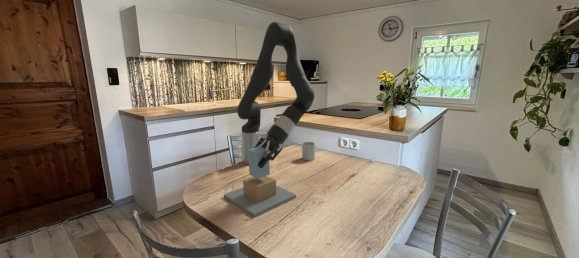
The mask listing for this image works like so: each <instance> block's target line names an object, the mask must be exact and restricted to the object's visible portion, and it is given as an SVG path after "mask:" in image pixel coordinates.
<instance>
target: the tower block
mask: <svg viewBox="0 0 579 258" xmlns="http://www.w3.org/2000/svg"><path fill="white" fill-rule="evenodd" d="M248 152H249V164H248V171H249V173H248V174H249V175H250V176H251V177H256V178H258V179H259V178H262V177H264V176H269V175H270V160H269V161H267V163H266V164H265V165H264V167H263V168H260V167H259V166H258V163H259V162H260V160H261V159H262V158H263V157H264V155H265V148H263V147H261V148H259V147H257V148H253V149H249V150H248Z"/></svg>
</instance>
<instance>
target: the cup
mask: <svg viewBox="0 0 579 258" xmlns="http://www.w3.org/2000/svg"><path fill="white" fill-rule="evenodd" d="M301 144H302V146H301V149H302V151H301V153H302V156H301V158H302V160H304V161H314V160H315V159H316V143H315V142H313V141H304V142H302V143H301Z"/></svg>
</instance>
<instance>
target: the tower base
mask: <svg viewBox="0 0 579 258" xmlns="http://www.w3.org/2000/svg"><path fill="white" fill-rule="evenodd" d="M242 186H243V187H240V188H237V189H235V190H231V191H228V192H226V193H224V194H223V197H224V199H227V200H228V201H229V202H231V203H233V204H234V205H236V206H237V207H239V208H240V209H241V210H243V211H244V212H246V213H247V214H249V215H251V216H252V217H253V218H256V217H258V216H260V215H262V214H265V213H267V212H268V211H271V210H274V209H275V208H277V207H280V206H281V205H284V204H285V203H287V202H290V201H292V200H295V199H296V198H297V194H296V193H293V192H291V191H289V190H288V189H286V188H283V187H281V186H279V185H277V180H276V179H275V178H272V177H271V176H269V175H267V176H264V177H262V178H259V179H258V178H256V177H253V176H251V177H247V178H245V179H242Z"/></svg>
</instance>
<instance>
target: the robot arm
mask: <svg viewBox="0 0 579 258" xmlns="http://www.w3.org/2000/svg"><path fill="white" fill-rule="evenodd" d="M276 46H277V47H278V46H279V47H283V49H284V51H285V53H286V56H287V57H286V63H285V72H286V76H287V78H288V81H289V84H290V86H291V87H292V88H293V89H294V91H295V94H296V98H295V100H294V101H293V102H292V104H291V105H288V106H287V108H286V109H285V110H284V111H283V112H282V113H281V114H280V116H279V117H278V118H277V119H276V120H275V121H274V123H273V125H271V127H270V128H269V130H268V131H267V132H266V135H267V137H266V138H264V137H260V127H261V117H262V116H261V106H260V103H258V101H256V99H257V98H258V97H259V96H260V95H261V94H262V93H263V92H264V91H265V90H266V89H267V88H268V86H269V85H270V82H271V80H272V78H273V75H274V65H273V64H274V63H273V54H274V51H275V48H276ZM256 61H257V62H256V64H255V66H254V69H253V70H252V74H251V76H250V80H249V82H248V84H247V87H246V89H245V92H244V94H243V96H242V97H241V99H240V101H239V103H238V106H237V109H236V110H237V116H238V118H240V119H241V120H247V122H246V123H244V124H243V125H242V126H241V142H242V143H241V161H242V162H243V164H244V165H249V152H248V150H249V149H253V148H257V147H259V148H261V147H262V148H265V155H264V157H263V158H262V159H261V160H260V162H259V163H258V166H259V167H260V168H263V167H264V165H265V164H266V163H267V161H269V162H270V161H274V160H275V159H276V157H278V155H280V153H281V152H282V151H283V147H282V146H281V145H283V144H284V143H285V142H286V141H287V139H288V138H289V137H290V135H291V133H292V132H293V131H294V129H295V127H297V124H298V123H299V121H300V120H301V118H302V117H303V116H304V115H305V114H306V113H307V112H308V111H309V109H310V108H311V107H312V105H313V103H314V100H315V92H314V89H313V87H312V85H311V83H310V82H309V80H308V78H307V76H306V73H305V71H304V68H303V66H302V65H303V64H302V63H301V60H300V56H299V51H298V45H297V42H296V37H295V33H294V29H293V28H292V27H291V26H290V25H288V24H285V23H281V22H277V21H272V22H271V23H270V24H269V25H268V27H267V28H266V31H265V34H264V37H263V41H262V46H261V48H260V51H259V55H258V58H257V60H256Z"/></svg>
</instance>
